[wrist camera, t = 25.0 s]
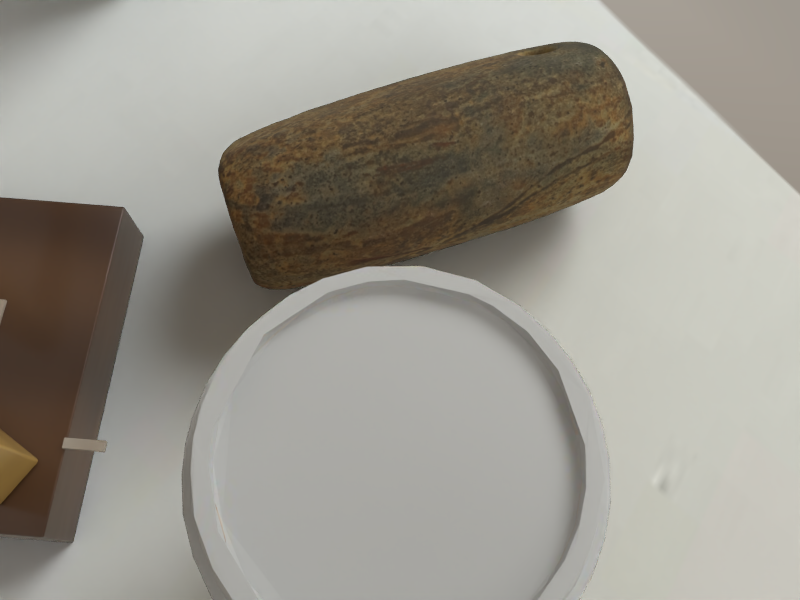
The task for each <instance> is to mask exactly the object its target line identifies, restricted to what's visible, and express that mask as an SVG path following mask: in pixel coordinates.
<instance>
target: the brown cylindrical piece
mask: <svg viewBox="0 0 800 600" xmlns="http://www.w3.org/2000/svg"><path fill="white" fill-rule="evenodd" d="M633 140H634V133H633V116H632V105H631V102H630V98H629V95H628V91H627V88H626V84H625V81H624V79H623V77H622V75H621V73H620V71H619V70H618V68H617V67H616V65H615V64H614V63H613V61H612V60H611V59H610V58H609V57H608V56H607V55H606V54H605V53H604V52H603V51H601V50H600V49H599V48H597V47H595V46H593V45H590V44H587V43H581V42H561V43H553V44H548V45H543V46H537V47H532V48H527V49H522V50H517V51H513V52H508V53H505V54H501V55H496V56H492V57H488V58H484V59H480V60H475V61H471V62H467V63H464V64H460V65H456V66H452V67H449V68H445V69H441V70H438V71H434V72H431V73H427V74H423V75H420V76H417V77H413V78H409V79H406V80H403V81H399V82H396V83H393V84H390V85H387V86H383V87H380V88H376V89H373V90H370V91H367V92H364V93H360V94H357V95H355V96H351V97H348V98H345V99H342V100H339V101H336V102H333V103H330V104H327V105H324V106H320V107H317V108H314V109H311V110H308V111H305V112H303V113H300V114H298V115H295V116H293V117H291V118H288V119H285V120H282V121H280V122H276V123H274V124H271V125H269V126H267V127H264V128H262V129H259V130H257V131H255V132H253V133H250V134H249V135H246V136H244V137H242V138H240V139H238V140H236V141H235V142H234V143H232V144H231V145H230V146H229V147H228V148H227V149H226V150H225V151H224V153H223V154H222V157H221V160H220V164H219V168H218V173H219V180H220V185H221V188H222V191H223V194H224V198H225V202H226V205H227V208H228V212H229V216H230V219H231V222H232V225H233V228H234V231H235V233H236V236H237V239H238V242H239V244H240V247H241V250H242V253H243V257H244V260H245V263H246V265H247V267H248V270H249V272H250V274H251V277H252V279H253V281H254V282H255V284H257V285H258V286H260V287H263V288H267V289H291V288H296V287H301V286H307V285H311V284H313V283H315V282H317V281H319V280H321V279H323V278H327V277H330V276H334V275H338V274H342V273H345V272H349V271H353V270H356V269H360V268H364V267H377V266H386V265H389V264H392V263H396V262H400V261H404V260H407V259H411V258H414V257H418V256H421V255H425V254H428V253H430V252H433V251H437V250H441V249H444V248H447V247H450V246H454V245H457V244H460V243H463V242H467V241H469V240H472V239H475V238H479V237H482V236H485V235H489V234H492V233H495V232H498V231H501V230H505V229H509V228H512V227H515V226H517V225H520V224H524V223H527V222H530V221H533V220H535V219H538V218H541V217H544V216H546V215H549V214H551V213H554V212H556V211H559V210H562V209H564V208H567V207H569V206H572V205H575V204H577V203H579V202H581V201H584V200H586V199H589V198H591V197H593V196H595V195H597V194H600V193H602V192H604V191H605V190H607V189H608V188H610V187H611V186H613V185H614V184H615V183H616V182H617V181H618V180H619V179H620V178H621V177H622V176H623V175H624V173H625V172H626V170H627V168H628V165H629V163H630V160H631V158H632V152H633Z"/></svg>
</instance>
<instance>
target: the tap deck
mask: <svg viewBox="0 0 800 600" xmlns="http://www.w3.org/2000/svg"><path fill="white" fill-rule="evenodd" d="M142 242H143V235H142V233H141V232H140V230H139V229H138V227H137V226H136V224H135V223H134V221H133V220H132V218H131V217H130V215H129V214H128V212H127V211H126V209H125V208H124V207H115V206H103V205H90V204H77V203H65V202H52V201H39V200H27V199H14V198H1V197H0V429H1V430H2V431H4V432H5V433H6V434H7V435H9V436H10V437H11V438H12V439H14V440H15V441H16V442H17V443H18V444H20V445H21V446H22V447H23V448H25V449H26V450H27V451H28V452H30V453H31V454H32V455H33V456H35V457H36V458H37V459H38V462H37V464H36V465H35V466H34V467H33V468H32V469H31V470H30V472H29V473H28V474H27V475H26V476H25V477H24V478H23V479H22V481H21V482H20V483H19V484H18V485H17V486H16V487H15V488H14V490H13V491H12V492H11V493H10V494H9V495H8V496H7V497H6V499H5V500H4V501H3V502H2V503H1V504H0V537H7V538H19V539H31V540H43V541H55V542H67V543H72V542H73V540H74V536H75V532H76V527H77V523H78V519H79V514H80V510H81V506H82V501H83V497H84V493H85V489H86V484H87V480H88V476H89V471H90V467H91V463H92V458H93V454H94V452H105V450H106V446H107V441H102V440H97V437H98V432H99V428H100V424H101V419H102V415H103V411H104V406H105V402H106V398H107V393H108V389H109V385H110V380H111V376H112V372H113V367H114V363H115V359H116V354H117V350H118V346H119V341H120V337H121V333H122V328H123V324H124V320H125V315H126V311H127V307H128V302H129V298H130V294H131V289H132V285H133V281H134V276H135V272H136V268H137V263H138V259H139V255H140V250H141V246H142Z"/></svg>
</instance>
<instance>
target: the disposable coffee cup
mask: <svg viewBox="0 0 800 600" xmlns="http://www.w3.org/2000/svg"><path fill="white" fill-rule="evenodd" d="M182 501H183V517H184V521H185V525H186V529H187V533H188V538H189V542H190V546H191V550H192V554H193V557H194V560H195V562H196V564H197V566H198V569H199V571H200V573H201V575H202V578H203V580H204V582H205V584H206V587H207V589H208V591H209V593H210V596H211V598H212V599H213V600H579V599H580V597H581V595H582V594H583V592H584V590H585V588H586V587H587V585H588V583H589V581H590V579H591V578H592V575H593V572H594V569H595V566H596V563H597V560H598V557H599V555H600V552H601V549H602V546H603V543H604V540H605V534H606V528H607V522H608V516H609V509H610V503H611V498H610V460H609V454H608V449H607V444H606V439H605V434H604V430H603V425H602V422H601V420H600V417H599V414H598V412H597V409H596V406H595V404H594V401H593V398H592V396H591V393H590V391H589V389H588V387H587V385H586V384H585V382H584V380H583V379H582V377H581V375H580V374H579V372H578V370H577V368H576V367H575V365H574V363H573V362H572V360H571V359H570V357H569V356H568V355H567V354H566V353H565V351H564V350H563V349H562V348H561V346H560V345H559V344H558V342H557V341H556V339H555V338H554V337H553V336H552V335H551V334H550V333H549V332H548V331H547V330H546V329H545V328H544V327H542V326H541V325H540V324H539V323H538V322H537V321H536V320H535V319H534V318H533V317H532V316H531V315H530V314H529V313H527V312H526V311H525V310H524V309H523V308H522V307H521V306H520V305H518V304H516V303H515V302H513V301H511V300H509V299H508V298H506V297H504V296H502V295H501V294H499V293H497V292H495V291H494V290H492V289H490V288H489V287H487V286H485V285H483V284H482V283H480V282H478V281H476V280H473V279H470V278H466V277H462V276H458V275H454V274H451V273H447V272H443V271H439V270H435V269H432V268H428V267H424V266H377V267H364V268H360V269H356V270H353V271H349V272H345V273H342V274H338V275H334V276H330V277H327V278H323V279H321V280H319V281H317V282H315V283H313V284H311V285H309V286H307V287H305V288H303V289H301V290H299V291H297V292H295V293H293V294H290V295H289V296H288V297H286V298H285V299H284V300H282V301H281V302H280V303H278V304H277V305H275V306H274V307H273V308H272V309H270V310H269V311H268V312H266V313H265V314H264V315H263V316H262V317H261V318H259V319H258V320H257V321H256V322H254V323H253V324H252V325H251V326H249V327H248V328H247V329H246V330H245V332H244V333H243V334H242V335H241V336H240V337H239V339H238V340H237V341H236V342H235V343H234V344H233V346H232V347H231V348H230V349H229V350H228V351H227V352H226V354H225V355H224V356H223V358H222V359H221V361H220V363H219V364H218V366H217V367H216V369H215V371H214V372H213V374H212V375H211V377H210V378H209V380H208V382H207V383H206V386H205V388H204V391H203V393H202V395H201V398H200V400H199V403H198V405H197V407H196V410H195V412H194V415H193V417H192V420H191V424H190V428H189V432H188V436H187V439H186V443H185V450H184V459H183V468H182Z"/></svg>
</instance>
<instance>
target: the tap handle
mask: <svg viewBox="0 0 800 600" xmlns="http://www.w3.org/2000/svg"><path fill="white" fill-rule="evenodd" d="M37 462H38V459H37V458H36V457H35V456H33V455H32V454H31V453H30V452H28V451H27V450H26V449H25V448H23V447H22V446H21V445H20V444H18V443H17V442H16V441H15V440H14V439H12V438H11V437H10V436H9V435H7V434H6V433H5V432H4V431H2V430H1V429H0V504H1V503H2V502H3V501H4V500H5V499H6V497H7V496H8V495H9V494H10V493H11V492H12V491H13V490H14V488H15V487H16V486H17V485H18V484H19V483H20V482H21V481H22V479H23V478H24V477H25V476H26V475H27V474H28V473H29V472H30V470H31V469H32V468H33V467H34V466H35V465H36V464H37Z"/></svg>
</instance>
